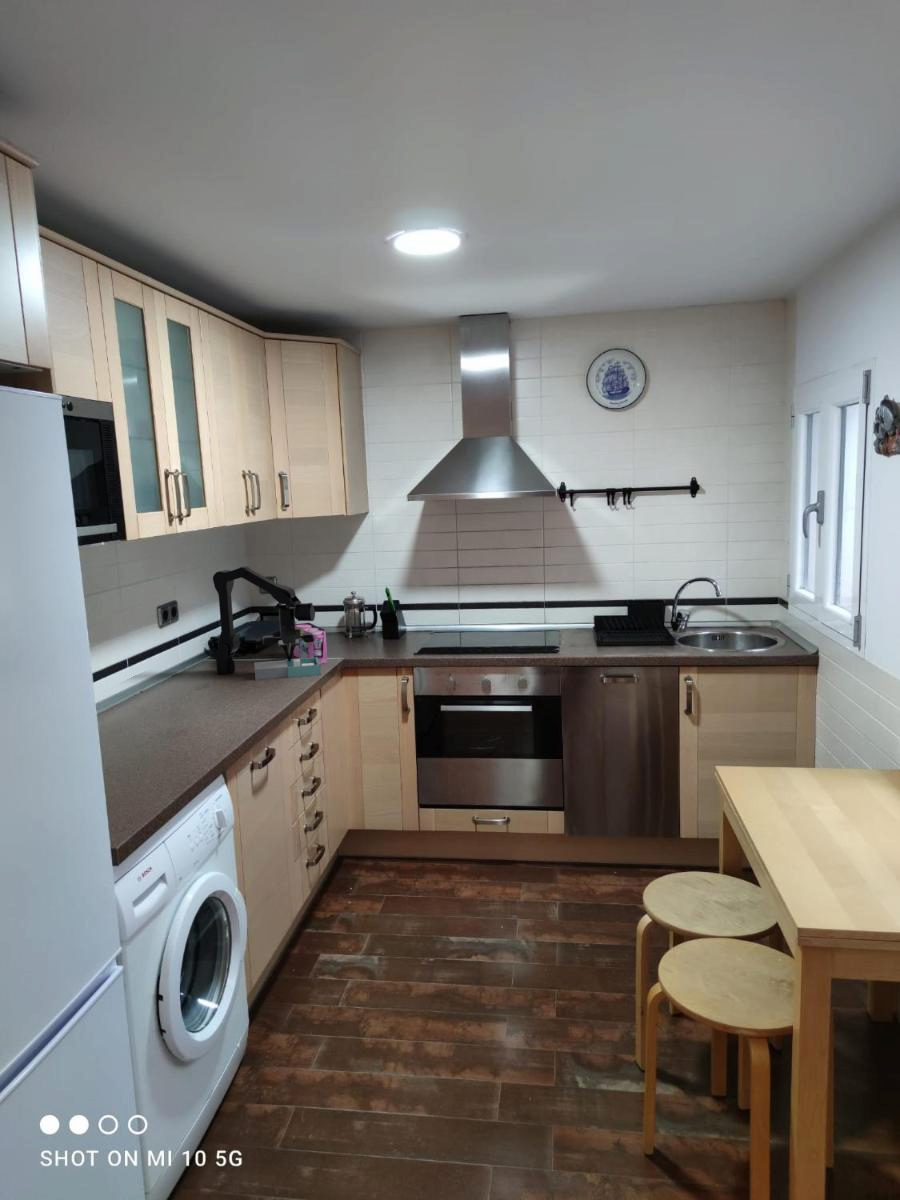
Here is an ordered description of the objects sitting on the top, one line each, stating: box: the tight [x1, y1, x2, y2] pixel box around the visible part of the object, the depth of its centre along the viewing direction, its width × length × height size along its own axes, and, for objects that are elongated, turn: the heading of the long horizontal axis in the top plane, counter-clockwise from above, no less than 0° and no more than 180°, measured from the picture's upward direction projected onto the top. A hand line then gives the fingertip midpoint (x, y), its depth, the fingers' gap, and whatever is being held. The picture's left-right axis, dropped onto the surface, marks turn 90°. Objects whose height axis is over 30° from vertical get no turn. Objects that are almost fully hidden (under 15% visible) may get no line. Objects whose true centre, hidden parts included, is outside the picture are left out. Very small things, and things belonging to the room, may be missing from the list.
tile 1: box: [292, 658, 301, 667], centre depth 299 cm, size 4×4×2 cm
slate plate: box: [254, 659, 288, 681], centre depth 297 cm, size 12×12×4 cm
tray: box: [285, 657, 322, 679], centre depth 300 cm, size 12×14×4 cm
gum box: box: [293, 622, 328, 665], centre depth 322 cm, size 24×8×14 cm, turn 27°
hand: (289, 661), depth 298 cm, fingers closed
